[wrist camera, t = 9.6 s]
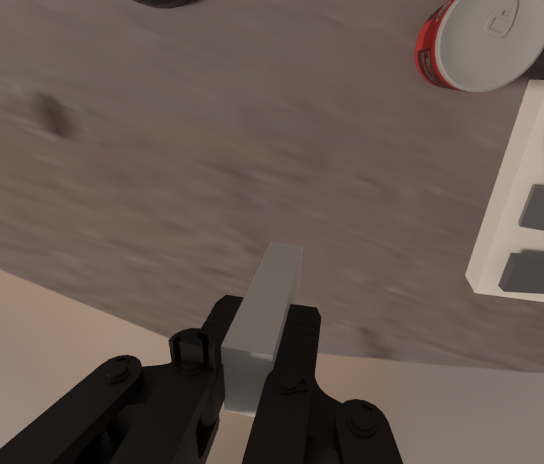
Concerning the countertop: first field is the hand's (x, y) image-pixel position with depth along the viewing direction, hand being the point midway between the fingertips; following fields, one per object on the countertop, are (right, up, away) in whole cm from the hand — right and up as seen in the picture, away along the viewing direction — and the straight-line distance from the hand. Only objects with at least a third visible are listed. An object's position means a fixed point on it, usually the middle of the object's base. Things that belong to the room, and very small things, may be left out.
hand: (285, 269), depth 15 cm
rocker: (+29, -3, +22) cm, 36 cm away
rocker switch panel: (+31, +9, +22) cm, 39 cm away
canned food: (+18, +21, +19) cm, 34 cm away
